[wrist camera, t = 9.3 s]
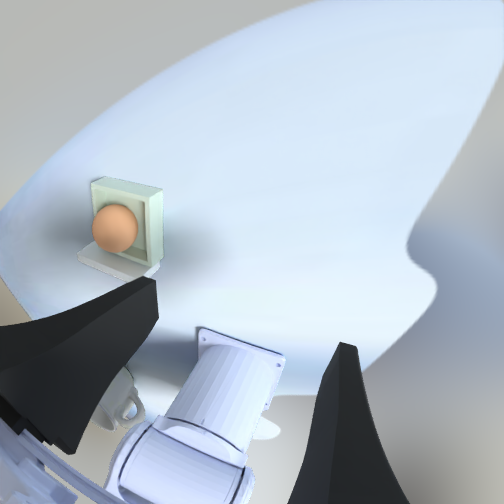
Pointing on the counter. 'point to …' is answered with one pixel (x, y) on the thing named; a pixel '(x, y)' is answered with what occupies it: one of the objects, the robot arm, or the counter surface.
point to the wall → (114, 263)
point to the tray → (145, 210)
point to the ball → (115, 228)
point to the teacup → (118, 404)
